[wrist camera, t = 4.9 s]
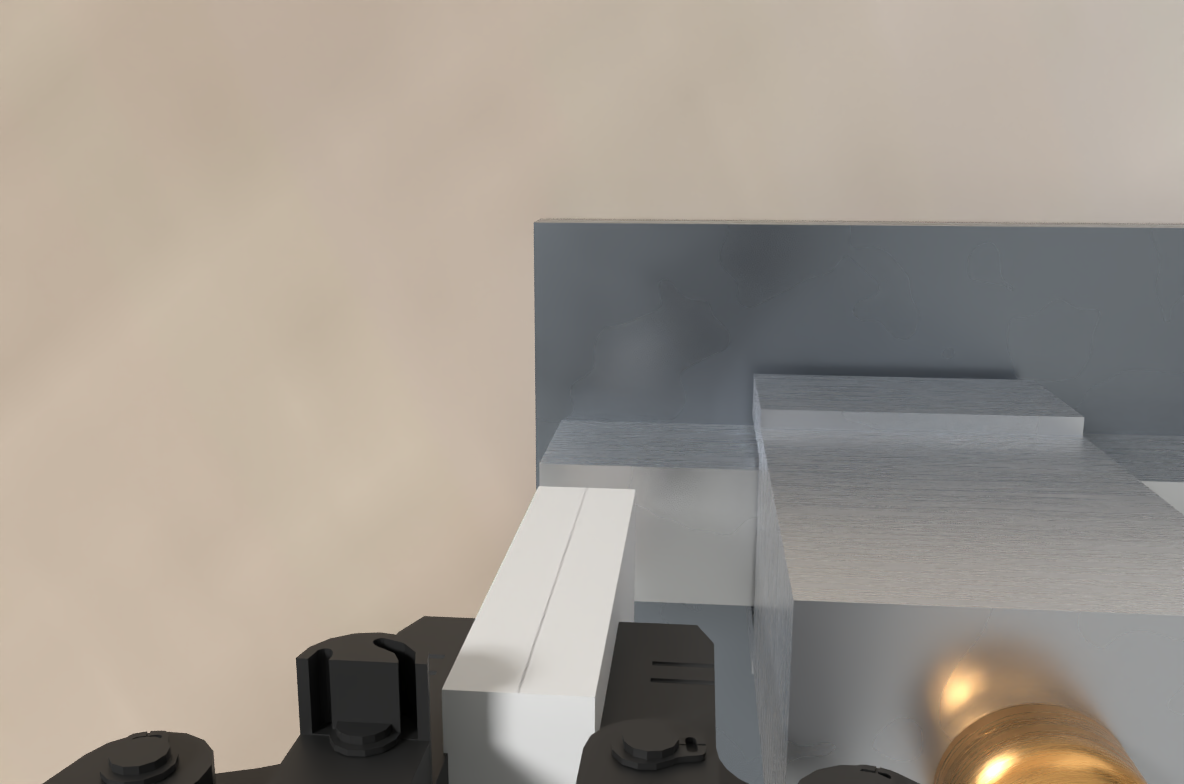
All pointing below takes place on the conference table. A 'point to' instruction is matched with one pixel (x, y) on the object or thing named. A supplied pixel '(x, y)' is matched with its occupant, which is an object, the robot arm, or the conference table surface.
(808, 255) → the flange plate
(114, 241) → the conference table surface
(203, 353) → the conference table surface
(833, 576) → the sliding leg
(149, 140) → the conference table surface
